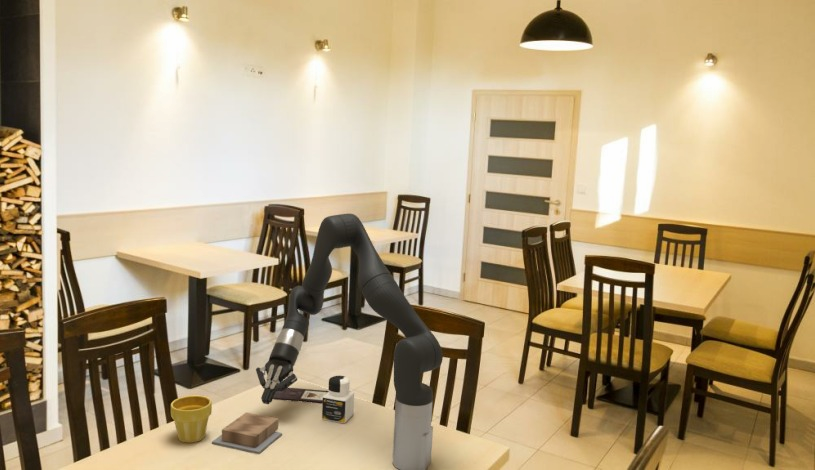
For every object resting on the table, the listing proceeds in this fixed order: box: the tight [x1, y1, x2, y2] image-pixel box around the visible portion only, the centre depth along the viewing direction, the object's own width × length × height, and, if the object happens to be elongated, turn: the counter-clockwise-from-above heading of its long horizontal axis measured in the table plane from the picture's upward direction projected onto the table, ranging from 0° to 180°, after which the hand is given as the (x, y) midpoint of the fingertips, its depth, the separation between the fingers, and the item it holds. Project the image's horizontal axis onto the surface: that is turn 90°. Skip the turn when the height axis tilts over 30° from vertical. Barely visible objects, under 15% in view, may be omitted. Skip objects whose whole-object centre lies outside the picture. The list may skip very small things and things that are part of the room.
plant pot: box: [170, 394, 213, 444], centre depth 178 cm, size 10×10×10 cm
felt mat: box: [211, 431, 283, 455], centre depth 179 cm, size 14×12×1 cm
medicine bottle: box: [321, 375, 355, 424], centre depth 195 cm, size 7×7×12 cm
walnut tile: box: [221, 412, 279, 448], centre depth 180 cm, size 10×3×12 cm
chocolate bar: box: [273, 387, 329, 405], centre depth 210 cm, size 9×1×18 cm
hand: (265, 402), depth 187 cm, fingers closed
